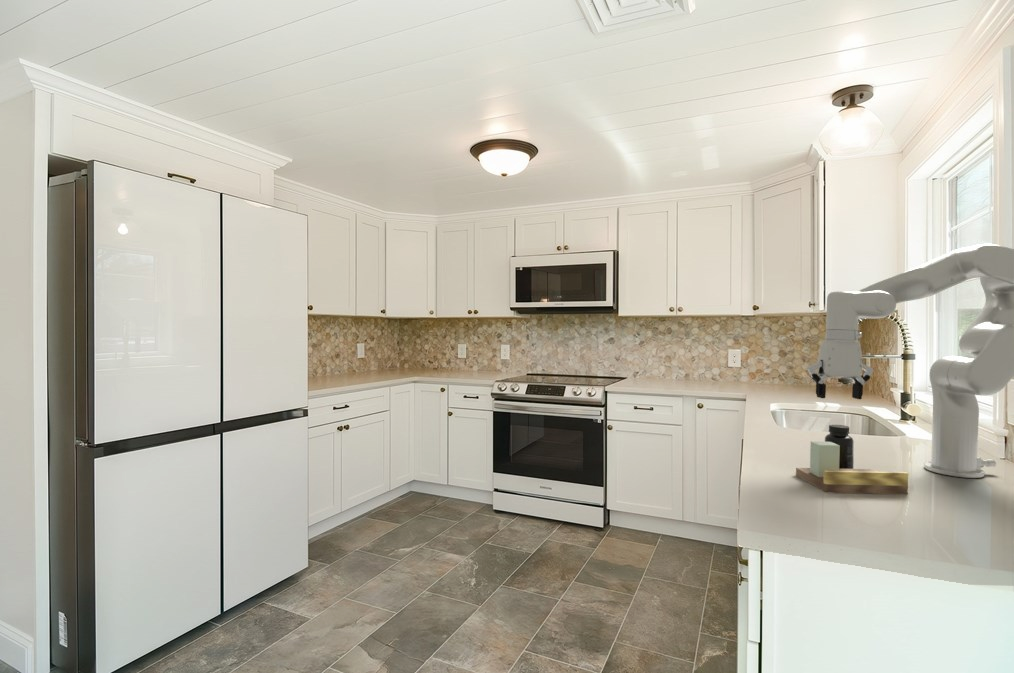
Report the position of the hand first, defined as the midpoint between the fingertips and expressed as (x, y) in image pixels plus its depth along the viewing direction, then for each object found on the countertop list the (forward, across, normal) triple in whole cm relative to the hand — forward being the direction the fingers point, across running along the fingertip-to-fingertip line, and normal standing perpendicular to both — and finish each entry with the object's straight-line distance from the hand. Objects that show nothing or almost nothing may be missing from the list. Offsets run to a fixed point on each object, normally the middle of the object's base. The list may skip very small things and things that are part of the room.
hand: (838, 398), depth 145 cm
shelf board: (+20, +5, +14) cm, 25 cm away
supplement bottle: (+20, -1, 0) cm, 20 cm away
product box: (+18, +10, +13) cm, 24 cm away
